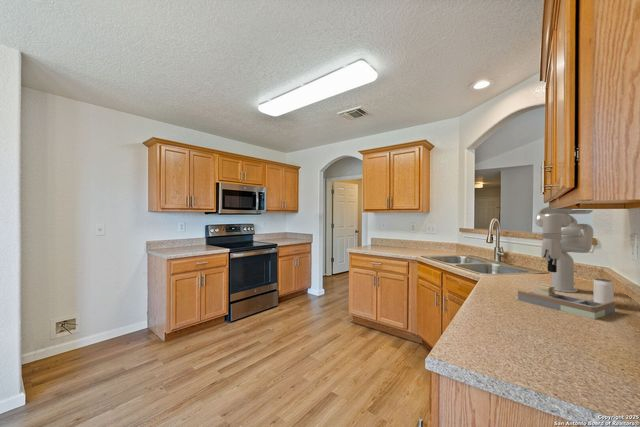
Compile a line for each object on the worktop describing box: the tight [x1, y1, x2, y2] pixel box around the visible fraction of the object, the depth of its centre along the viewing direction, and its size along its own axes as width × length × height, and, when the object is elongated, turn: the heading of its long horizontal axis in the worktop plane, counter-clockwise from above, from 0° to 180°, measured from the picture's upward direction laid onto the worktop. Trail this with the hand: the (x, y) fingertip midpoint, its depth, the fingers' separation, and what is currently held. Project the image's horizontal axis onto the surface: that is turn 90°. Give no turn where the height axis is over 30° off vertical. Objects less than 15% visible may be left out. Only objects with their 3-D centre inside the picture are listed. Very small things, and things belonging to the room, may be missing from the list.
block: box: [533, 283, 556, 296], centre depth 134 cm, size 6×6×4 cm
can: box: [592, 278, 615, 304], centre depth 124 cm, size 6×6×12 cm
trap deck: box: [517, 290, 616, 320], centre depth 124 cm, size 20×28×4 cm
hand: (552, 271), depth 138 cm, fingers closed
